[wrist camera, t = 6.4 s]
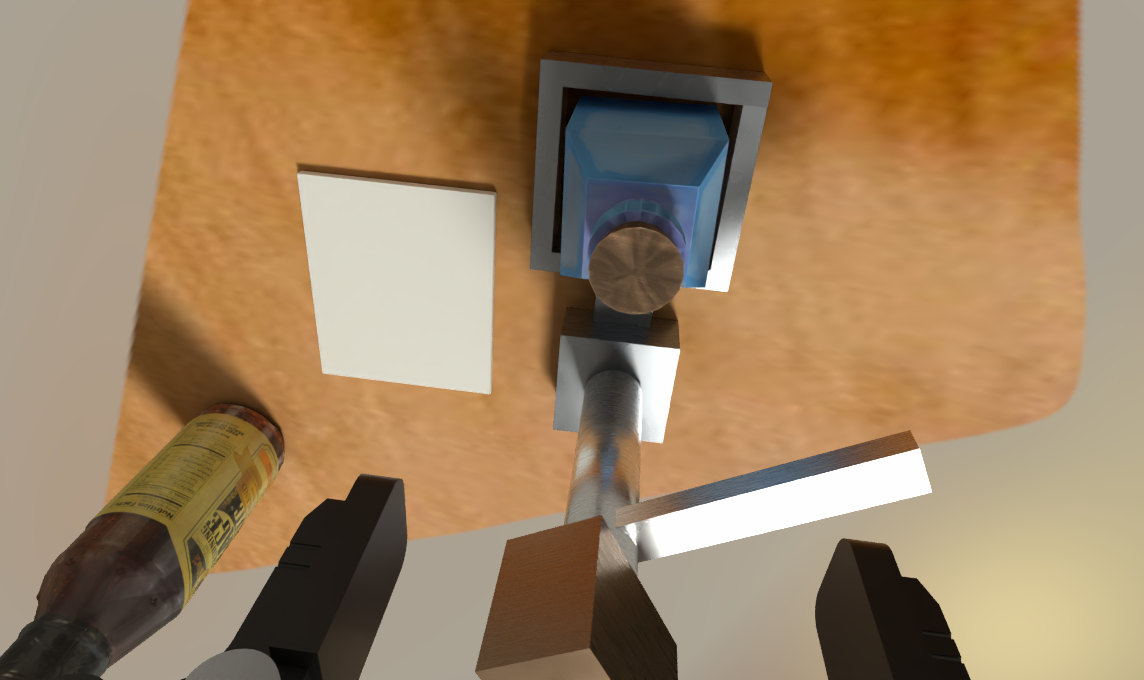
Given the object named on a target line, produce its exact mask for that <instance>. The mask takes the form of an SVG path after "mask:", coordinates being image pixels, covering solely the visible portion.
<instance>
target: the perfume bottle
mask: <svg viewBox="0 0 1144 680" xmlns="http://www.w3.org/2000/svg"><path fill="white" fill-rule="evenodd" d="M728 144H729V138H728V136H727V133H726V130H725V127H724V124H723V122H722V119H721V116H720V113H719V111H718V108H717V105H705V104H690V103H676V102H662V101H647V100H633V99H619V98H604V97H590V96H581V97H580V99H579V101H578V103H577V105H576V108H575V110H574V112H573V114H572V116H571V119H570V121H569V123H568V125H567V127H566V142H565V166H564V190H563V214H562V238H561V262H560V275H563V276H569V277H575V278H581V279H589V282H590V284H591V286H592V288H593V290H594V292H595V294H596V295H597V296H598V297H599V298H600V299H601V301H602V302H603V303H604V304H606V305H607V306H609V307H611V308H613V309H615V310H616V311H619V312H623V313H628V314H646V313H649V312H652V311H655V310H658V309H660V308H662V307H663V306H664V305H666V304H667V303H669V302H670V301H671V300H672V299H673V298H674V296H675V295H676V294H677V292H678V291H679V290H680V287H683V288H705V287H706V281H707V274H708V268H709V262H710V256H711V250H712V243H713V237H714V231H715V225H716V219H717V212H718V206H719V200H720V194H721V188H722V181H723V175H724V169H725V163H726V157H727V150H728Z"/></svg>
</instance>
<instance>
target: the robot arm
mask: <svg viewBox="0 0 1144 680" xmlns="http://www.w3.org/2000/svg"><path fill="white" fill-rule="evenodd" d="M406 546H407V525H406V509H405V494H404V483H403V480H402V479H398V478H391V477H383V476H376V475H368V474H361V475H360V476H359V477H358V478H357V480H356V481H355V483H354V485H353V487H352V489H351V491H350V493H349V495H348V496H347V498H346V500H345V501H342V500H335V499H326V500H325V501H324V502H323V503H321V504H320V505H319V506H318V507H317V508H315V509H314V510H313V511H312V512H311V513H309V514H308V515H307V516H306V517H305V518H304V519H303V521H302V522H301V524H300V526H299V528H298V529H297V531H296V533H295V534H294V536H293V538H292V540H291V541H290V546H289V547H287V548H286V550H285V552H284V553H283V555H282V557H281V559H280V560H279V564H278V567H275V569H274V571H273V572H272V574H271V576H270V578H269V579H268V581H267V583H266V584H265V586H264V588H263V589H262V591H261V593H260V595H259V597H258V598H257V600H256V601H255V603H254V605H253V607H252V608H251V610H250V612H249V613H248V615H247V617H246V619H245V620H244V622H243V624H242V625H241V627H240V629H239V631H238V632H237V634H236V636H235V638H234V639H233V641H232V642H231V644H230V645H229V647H228V648H227V649H226V650H225V651H224V652H223V653H220V654H218V655H216V656H214V657H212V658H210V659H208V660H207V661H205V662H203V663H202V664H201V665H199V666H198V667H197V668H196V669H194V670H193V672H191V674H189V676H188V677H187V678H184V679H181V680H359V677H360V674H361V672H362V669H363V667H364V664H365V662H366V659H367V657H368V654H369V651H370V649H371V646H372V644H373V641H374V638H375V636H376V633H377V630H378V628H379V625H380V623H381V620H382V618H383V615H384V612H385V610H386V607H387V605H388V602H389V600H390V597H391V594H392V592H393V589H394V586H395V584H396V581H397V579H398V576H399V574H400V571H401V568H402V565H403V561H404V557H405V552H406ZM815 620H816V628H817V633H818V637H819V641H820V645H821V650H822V654H823V658H824V662H825V667H826V671H827V676H828V680H971V679H970V677H969V675H968V672H967V670H966V668H965V665H964V664H963V663H961V656H960V653H959V651H958V648H957V646H956V644H955V642H954V640H953V639H951V632H950V629H949V627H948V624H947V622H946V620H945V618H944V615H943V613H942V610H941V608H940V606H939V604H938V603H937V602H936V601H935V599H934V598H933V597H932V596H931V595H930V593H929V592H928V591H927V590H926V589H925V588H924V586H923V585H922V584H921V583H920V582H919V580H918V579H917V578H909V577H902V576H901V574H900V571H899V568H898V566H897V563H896V561H895V558H894V555H893V553H892V551H891V549H890V547H889V546H888V545H886V544H883V543H875V542H867V541H860V540H852V539H841V540H840V541H839V543H838V545H837V547H836V549H835V552H834V554H833V557H832V559H831V562H830V564H829V566H828V569H827V571H826V574H825V576H824V579H823V581H822V584H821V586H820V588H819V591H818V594H817V598H816V606H815ZM51 680H103V679H101V678H100V677H98V676H95V675H92V674H87V673H74V674H67V675H63V676H59V677H56V678H53V679H51Z"/></svg>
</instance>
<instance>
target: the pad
mask: <svg viewBox="0 0 1144 680" xmlns="http://www.w3.org/2000/svg"><path fill="white" fill-rule="evenodd" d="M297 176H298V184H299V192H300V200H301V208H302V215H303V223H304V231H305V239H306V247H307V255H308V263H309V270H310V278H311V286H312V294H313V302H314V310H315V317H316V325H317V333H318V341H319V349H320V357H321V365H322V372H323V373H324V374H332V375H340V376H348V377H356V378H364V379H372V380H380V381H388V382H396V383H404V384H412V385H420V386H428V387H436V388H444V389H452V390H460V391H468V392H476V393H484V394H491V391H492V368H493V325H494V282H495V239H496V196H497V192H491V191H482V190H473V189H464V188H455V187H446V186H437V185H427V184H418V183H409V182H400V181H391V180H382V179H373V178H364V177H355V176H346V175H337V174H328V173H319V172H310V171H300V172H299V173H297Z"/></svg>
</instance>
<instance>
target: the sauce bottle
mask: <svg viewBox="0 0 1144 680" xmlns="http://www.w3.org/2000/svg"><path fill="white" fill-rule="evenodd" d="M283 460H284V445H283V439H282V436H281V433H280V432H279V430H278V429H277V427H275V426H274V425H272V424H271V423H270V422H269V421H268V420H267V419H266V418H265V417H264V416H263V415H261V414H260V413H257V412H255V411H253V410H252V409H250V408H247V407H244V406H239V405H234V404H217V405H215V406H212V407H211V408H208V409H207V410H205V411H204V412H202V413H201V414H200V415H199V416H198V417H196V418H194V419H193V420H191V421H190V422H189V423H188V424H187V425H186V426H185V427H184V428H183V429H182V430H181V431H180V432H179V433H178V434H177V435H176V436H175V437H174V438H173V439H172V440H171V441H170V442H169V443H168V444H167V445H166V446H165V447H164V448H163V449H162V450H161V451H160V452H159V453H158V454H157V455H156V456H155V457H154V458H153V459H152V460H151V461H150V462H149V463H148V464H147V465H146V466H145V467H144V468H143V469H142V470H141V471H140V472H139V473H138V474H137V475H136V476H135V477H134V478H133V479H132V480H131V481H130V482H129V483H128V484H127V485H126V486H125V487H124V488H123V489H122V490H121V491H120V492H119V493H118V494H117V495H116V496H115V497H114V498H113V499H112V500H111V501H110V502H109V503H108V504H107V505H106V506H105V507H104V508H103V509H102V510H101V511H100V512H99V513H98V514H97V515H96V516H95V517H94V518H93V519H92V520H91V521H90V522H89V524H88V525H87V527H86V529H85V531H84V532H83V533H82V534H81V535H80V536H79V537H78V538H77V539H76V540H75V541H74V542H73V543H72V544H71V545H70V546H69V547H68V548H67V549H66V550H65V551H64V552H63V553H62V554H60V555H59V556H58V557H57V559H56V560H55V562H53V564H52V565H51V567H50V569H49V570H48V572H47V574H46V575H45V576H44V579H43V582H42V585H41V588H40V591H39V593H38V595H37V597H36V598H37V600H38V607H37V611H36V615H35V618H34V621H33V622H31V623H29V624H27V625H26V626H25V627H24V628H23V629H22V631H21V632H20V634H19V636H18V639H17V640H16V641H15V642H14V643H13V644H12V645H11V646H10V647H9V649H8V650H7V651H6V652H5V653H4V654H3V655H2V656H1V657H0V680H51V679H53V678H56V677H59V676H63V675H67V674H74V673H87V674H92V675H95V676H98V677H100V676H101V675H102V674H103V673H104V672H105V671H106V669H107V668H109V667H110V666H111V665H113V664H114V663H116V662H117V661H118V660H120V659H121V658H122V657H124V656H125V655H126V654H128V653H129V652H130V651H132V650H133V649H134V648H135V647H137V646H138V645H140V644H141V643H142V642H143V641H145V640H146V639H147V638H149V637H150V636H152V635H153V634H154V633H155V632H157V631H158V630H159V629H161V628H162V627H163V626H165V625H166V624H167V623H168V622H170V621H172V620H173V619H174V618H175V617H177V615H179V614H180V612H181V611H182V610H183V608H184V607H185V605H186V604H187V603H188V601H189V600H190V599H191V597H192V596H193V594H194V593H195V591H196V590H197V589H198V587H199V586H200V584H201V582H202V581H203V580H204V579H205V577H206V576H207V574H208V573H209V571H210V570H211V569H212V568H213V567H214V565H215V564H216V562H217V561H218V560H219V558H220V557H221V555H222V554H223V552H224V551H225V549H226V548H227V547H228V545H229V544H230V542H231V541H232V540H233V538H234V537H235V535H236V534H237V533H238V532H239V530H240V528H241V527H242V525H243V524H244V523H245V521H246V520H247V518H248V517H249V515H250V514H251V513H252V511H253V510H254V508H255V507H256V506H257V504H258V503H259V501H260V500H261V498H262V497H263V496H264V494H265V493H266V491H267V490H268V489H269V487H270V486H271V484H272V483H273V481H274V480H275V478H276V475H277V473H278V471H279V470H280V468H281V466H282V464H283Z"/></svg>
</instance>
